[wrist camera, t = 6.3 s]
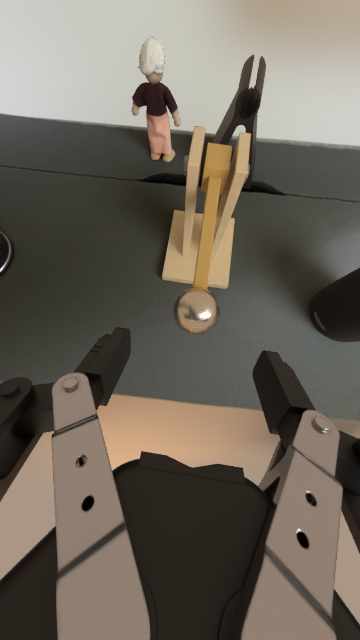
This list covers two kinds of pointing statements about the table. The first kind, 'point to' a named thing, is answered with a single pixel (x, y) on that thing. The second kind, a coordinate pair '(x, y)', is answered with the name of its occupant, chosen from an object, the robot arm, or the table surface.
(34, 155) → the table surface
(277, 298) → the table surface
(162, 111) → the grandmother figurine
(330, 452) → the robot arm
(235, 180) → the bracket
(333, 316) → the pen holder
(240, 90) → the phone stand
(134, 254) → the table surface
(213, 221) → the lever
